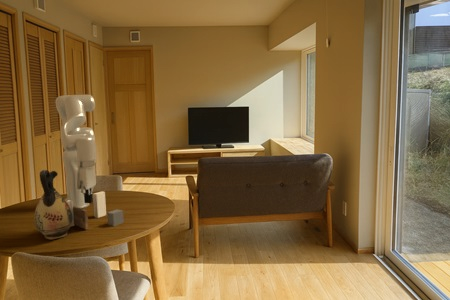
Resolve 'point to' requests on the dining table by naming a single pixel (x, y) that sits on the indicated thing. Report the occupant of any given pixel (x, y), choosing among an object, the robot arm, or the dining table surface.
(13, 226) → the dining table surface
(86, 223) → the door
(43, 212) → the ceramic jug
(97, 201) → the wall
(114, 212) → the block
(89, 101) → the robot arm
